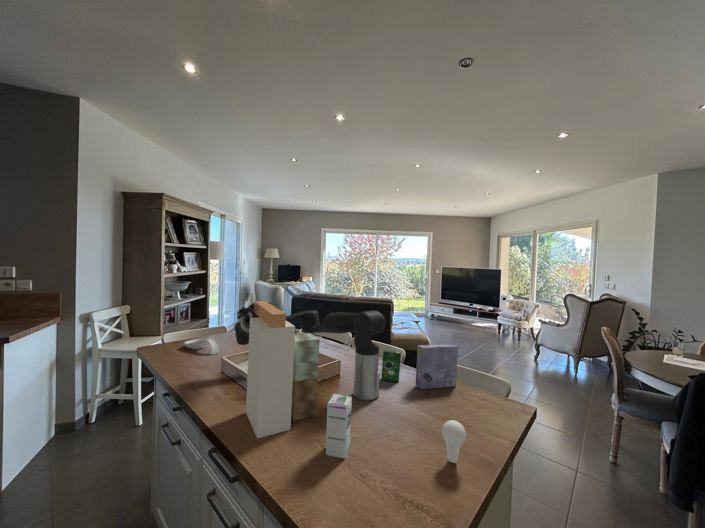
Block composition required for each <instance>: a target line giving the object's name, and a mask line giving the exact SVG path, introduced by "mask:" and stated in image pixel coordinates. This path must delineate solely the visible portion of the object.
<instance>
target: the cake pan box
mask: <svg viewBox="0 0 705 528" xmlns="http://www.w3.org/2000/svg"><path fill="white" fill-rule="evenodd" d="M416 350H417V351H416V367H415V368H416V369H415V386H416V387H417V388H419V390H429V389H431V390H432V389H441V388H442V389H443V388H449V387H456V386H457V373H458V372H457V371H458V354H459V346H458V345H455V344H426V345H425V344H420V345H417V349H416Z"/></svg>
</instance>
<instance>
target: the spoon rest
mask: <svg viewBox="0 0 705 528" xmlns="http://www.w3.org/2000/svg"><path fill="white" fill-rule="evenodd" d="M183 344H184V346H185V347H187V348H188V349H190V350H201V349H202V348H204V347H205V346H206V345H207V344H209V347H210V355H211V356H212V354H213V355H217V354H219V353H220V349H219V345H218V343H217V342H216V341H215V339H213V338H211V337H209V338H195V339H194V338H193V339H191V340H186V341H184V342H183ZM200 348H201V349H200ZM216 353H217V354H216Z"/></svg>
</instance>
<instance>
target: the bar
mask: <svg viewBox="0 0 705 528" xmlns="http://www.w3.org/2000/svg"><path fill="white" fill-rule="evenodd" d="M253 303H254V313H256V314H257V315H258V316H259V317H260V318H261V319H262V320H263V321H265V322H266V323H267V324H268V325H269V326H270V327H271V328H279V327H285V324H286V316H287V314H286V312H285V311H282V310H280V309H279V308H277V307H276V306H274V305H273V304H272V303H271V304H272V305H271V304H269V303H270V302H269V301H268V302H267V301H266V300H263V301H261V300H259V301H255V300H254V302H253Z"/></svg>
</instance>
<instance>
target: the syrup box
mask: <svg viewBox="0 0 705 528" xmlns="http://www.w3.org/2000/svg"><path fill="white" fill-rule="evenodd" d="M352 399H353V397H352V396H351V395H347V394H339V393H333V394H332V395H331V397H330V399H329V400H328V402H327V404H326V406H327V409H326V437H325V439H326V442H325V455H326V456H329V457H334V458H339V459H345V460H346V458H347V457H348V454H349V451H350V448H351V439H352V438H351V437H352V436H351V435H352V408H353V407H352V406H353V405H352V403H353V400H352Z"/></svg>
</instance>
